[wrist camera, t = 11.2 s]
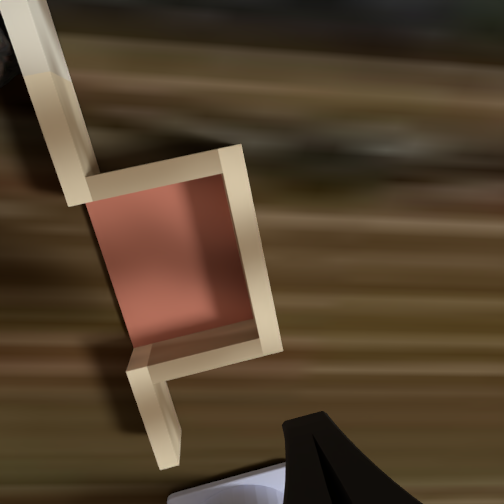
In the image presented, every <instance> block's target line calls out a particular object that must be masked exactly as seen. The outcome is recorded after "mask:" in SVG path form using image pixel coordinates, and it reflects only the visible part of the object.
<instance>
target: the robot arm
mask: <svg viewBox="0 0 504 504" xmlns="http://www.w3.org/2000/svg"><path fill="white" fill-rule="evenodd" d="M282 428H283V432H284V437H285V450H286V462H284V463H280V464H277V465H273V466H269V467H266V468H262V469H259V470H255V471H251V472H248V473H244V474H240V475H237V476H233V477H230V478H226V479H222V480H219V481H215V482H212V483H208V484H204V485H201V486H197V487H193V488H190V489H186V490H183V491H179V492H175V493H172V494H170V495H169V496H168V498H167V504H422V503H421V502H420V501H418V500H417V499H416V498H414V497H413V496H412V495H410V494H409V493H408V492H407V491H405V490H404V489H403V488H402V487H400V486H399V485H398V484H397V483H395V482H394V481H393V480H392V479H391V478H390V477H388V476H387V475H386V474H385V473H384V472H383V471H381V470H380V469H379V468H378V467H377V466H376V465H375V464H374V463H373V462H372V461H371V460H370V459H368V458H367V457H366V456H365V455H364V454H363V453H362V452H361V451H360V450H359V449H358V448H357V447H356V446H355V445H354V444H353V443H352V442H351V441H350V440H349V439H348V438H347V437H346V435H345V434H344V433H343V432H342V431H341V430H340V429H339V428H338V427H337V425H336V424H335V423H334V422H333V421H332V420H331V418H330V417H329V416H328V414H327V413H325V412H324V411H321V412H317V413H313V414H309V415H306V416H302V417H298V418H295V419H291V420H287V421H285V422H284V423H283V424H282Z"/></svg>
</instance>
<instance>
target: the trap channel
mask: <svg viewBox="0 0 504 504" xmlns="http://www.w3.org/2000/svg"><path fill="white" fill-rule="evenodd" d="M0 11H1V14H2V17H3V20H4V23H5V26H6V29H7V32H8V34H9V37H10V40H11V43H12V46H13V49H14V52H15V55H16V57H17V60H18V63H19V66H20V69H21V72H22V75H23V78H24V80H25V83H26V86H27V89H28V92H29V95H30V98H31V101H32V103H33V106H34V109H35V112H36V115H37V118H38V121H39V124H40V126H41V129H42V132H43V135H44V138H45V141H46V144H47V147H48V149H49V152H50V155H51V158H52V161H53V164H54V167H55V170H56V172H57V175H58V178H59V181H60V184H61V187H62V190H63V193H64V195H65V198H66V201H67V204H68V207H70V206H75V205H79V204H84V203H86V206H87V209H88V212H89V215H90V218H91V221H92V224H93V227H94V230H95V233H96V236H97V239H98V242H99V245H100V248H101V251H102V254H103V257H104V260H105V263H106V266H107V269H108V272H109V275H110V278H111V281H112V284H113V287H114V290H115V293H116V296H117V299H118V302H119V305H120V308H121V311H122V314H123V317H124V320H125V323H126V326H127V329H128V332H129V335H130V338H131V341H132V344H133V347H134V349H133V352H132V355H131V358H130V361H129V364H128V367H127V370H126V374H127V377H128V379H129V382H130V385H131V388H132V391H133V394H134V397H135V400H136V402H137V405H138V408H139V411H140V414H141V417H142V420H143V423H144V425H145V428H146V431H147V434H148V437H149V440H150V443H151V446H152V448H153V451H154V454H155V457H156V460H157V463H158V466H159V469H160V470H162V469H166V468H170V467H173V466H177V465H179V459H180V444H181V427H180V424H179V421H178V418H177V415H176V412H175V408H174V405H173V402H172V399H171V396H170V392H169V389H168V386H167V383H166V381H167V380H171V379H175V378H179V377H183V376H187V375H191V374H195V373H199V372H203V371H206V370H210V369H214V368H218V367H222V366H226V365H230V364H234V363H238V362H242V361H246V360H250V359H254V358H258V357H261V356H265V355H269V354H273V353H277V352H281V351H283V347H282V343H281V338H280V333H279V328H278V323H277V318H276V313H275V308H274V303H273V298H272V293H271V288H270V283H269V279H268V274H267V269H266V264H265V259H264V254H263V249H262V244H261V239H260V234H259V229H258V224H257V219H256V214H255V210H254V205H253V200H252V195H251V190H250V185H249V180H248V175H247V170H246V165H245V160H244V155H243V150H242V146H241V144H238V145H232V146H227V147H223V148H218V149H213V150H209V151H204V152H199V153H195V154H190V155H185V156H180V157H176V158H171V159H166V160H162V161H157V162H152V163H148V164H143V165H138V166H133V167H129V168H124V169H119V170H115V171H110V172H105V173H100V170H99V167H98V164H97V160H96V157H95V154H94V151H93V148H92V145H91V141H90V138H89V135H88V132H87V129H86V125H85V122H84V119H83V116H82V113H81V110H80V106H79V103H78V100H77V97H76V94H75V90H74V87H73V84H72V81H71V78H70V75H69V71H68V68H67V65H66V62H65V59H64V55H63V52H62V49H61V46H60V43H59V40H58V36H57V33H56V30H55V27H54V24H53V21H52V17H51V14H50V11H49V8H48V5H47V1H46V0H0Z"/></svg>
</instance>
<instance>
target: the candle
mask: <svg viewBox="0 0 504 504" xmlns="http://www.w3.org/2000/svg"><path fill="white" fill-rule="evenodd" d="M21 73H22V72H21V69H20V66H19V63H18V60H17V57H16V55H15V52H14V49H13V46H12V43H11V40H10V37H9V34H8V32H7V29H6V26H5V23H4V20H3V18H2V17H1V15H0V88H1V87H2V86H4V85H6V84H7V83H9V82H10V81H11V80H12V79H13V78H14V77H15V76H16V75H18V74H21Z"/></svg>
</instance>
